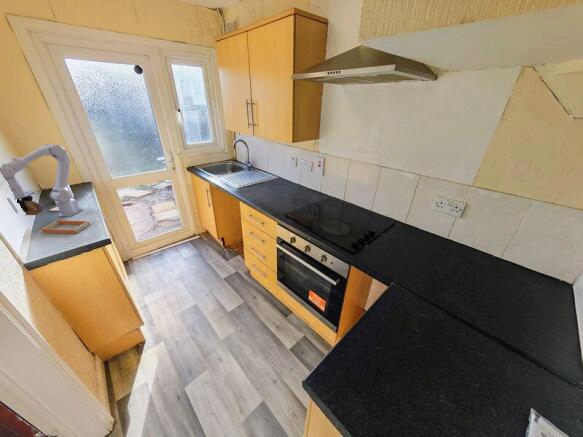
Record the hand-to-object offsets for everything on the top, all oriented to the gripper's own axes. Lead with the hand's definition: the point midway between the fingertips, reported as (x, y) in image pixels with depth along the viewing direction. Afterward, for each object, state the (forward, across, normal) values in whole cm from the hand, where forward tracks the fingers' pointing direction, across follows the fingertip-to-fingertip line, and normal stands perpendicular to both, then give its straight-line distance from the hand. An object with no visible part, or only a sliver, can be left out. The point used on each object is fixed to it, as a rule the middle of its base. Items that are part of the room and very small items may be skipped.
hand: (28, 209), depth 132 cm
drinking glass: (+11, +39, +16) cm, 43 cm away
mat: (+10, +22, +7) cm, 25 cm away
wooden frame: (+10, -3, -21) cm, 24 cm away
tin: (+3, 0, 0) cm, 3 cm away
